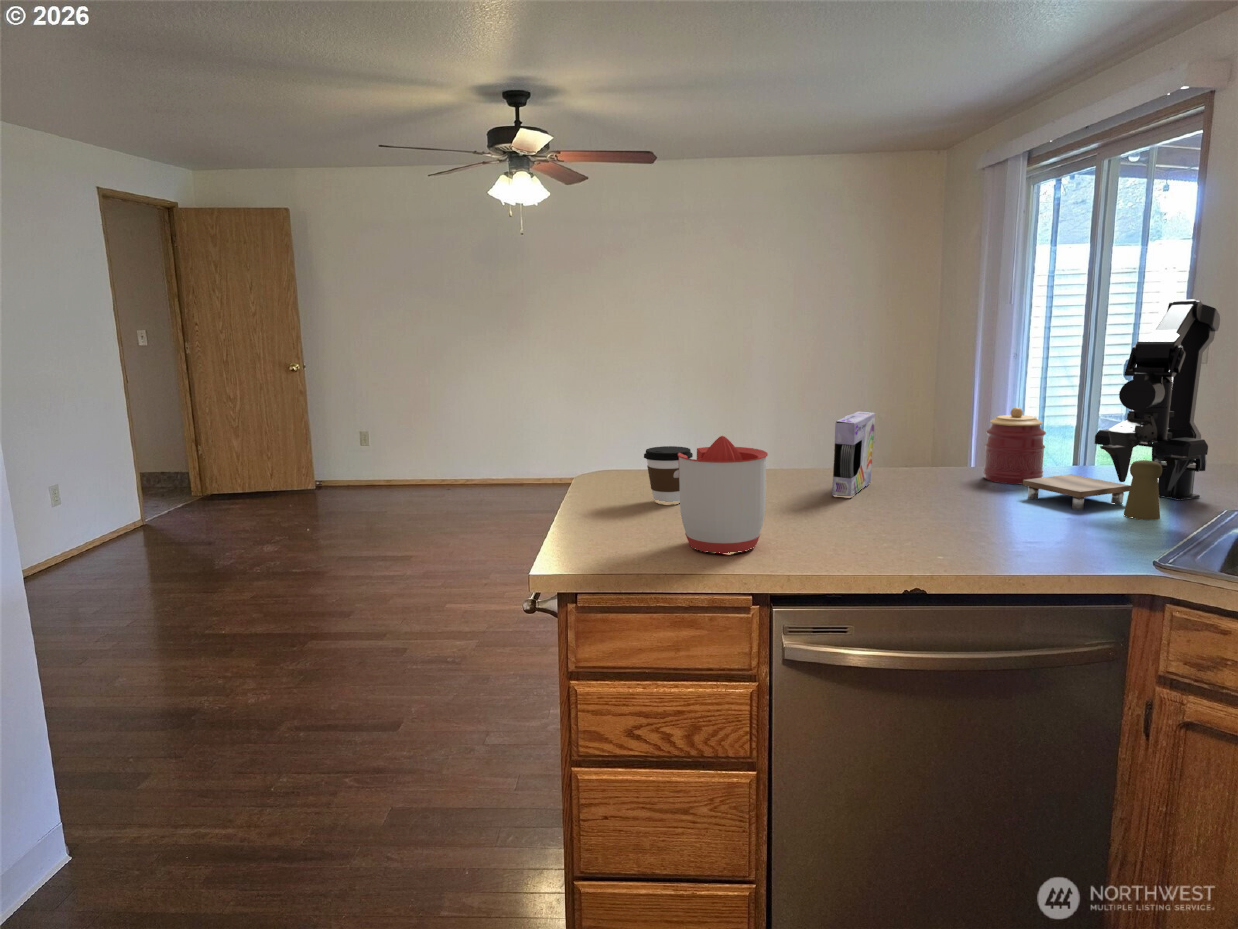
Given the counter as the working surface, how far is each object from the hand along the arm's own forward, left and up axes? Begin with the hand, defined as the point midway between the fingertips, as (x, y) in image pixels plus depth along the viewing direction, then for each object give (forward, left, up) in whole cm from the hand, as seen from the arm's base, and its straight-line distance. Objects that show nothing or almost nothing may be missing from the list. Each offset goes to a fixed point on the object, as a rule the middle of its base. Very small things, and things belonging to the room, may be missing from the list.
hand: (1144, 486), depth 152 cm
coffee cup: (+78, -52, -6) cm, 94 cm away
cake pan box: (+35, -44, -6) cm, 57 cm away
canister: (-7, -38, -6) cm, 39 cm away
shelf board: (0, -15, -3) cm, 15 cm away
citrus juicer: (+84, -16, -6) cm, 86 cm away
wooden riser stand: (0, -15, -6) cm, 16 cm away
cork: (0, 0, -6) cm, 6 cm away
